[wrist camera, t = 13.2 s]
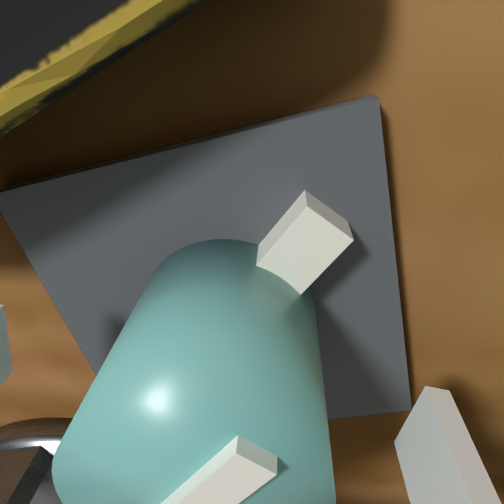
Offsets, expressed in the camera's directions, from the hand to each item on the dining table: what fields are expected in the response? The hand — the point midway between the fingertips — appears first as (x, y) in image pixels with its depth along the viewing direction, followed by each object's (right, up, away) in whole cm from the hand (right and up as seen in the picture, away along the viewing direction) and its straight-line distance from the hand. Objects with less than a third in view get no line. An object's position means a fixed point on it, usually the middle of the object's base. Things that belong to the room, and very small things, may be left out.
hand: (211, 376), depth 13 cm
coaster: (0, +2, +3) cm, 4 cm away
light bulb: (0, +2, +3) cm, 3 cm away
